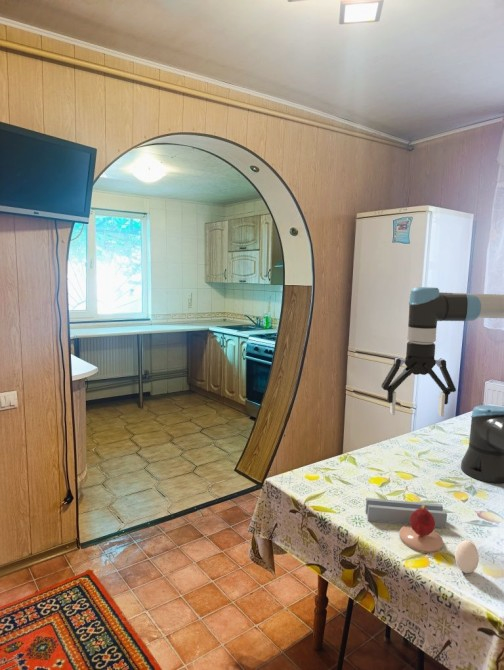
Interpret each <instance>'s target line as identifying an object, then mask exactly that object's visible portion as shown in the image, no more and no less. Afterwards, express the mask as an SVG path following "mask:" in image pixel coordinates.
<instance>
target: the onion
mask: <svg viewBox="0 0 504 670" xmlns="http://www.w3.org/2000/svg"><path fill="white" fill-rule="evenodd" d="M410 525H411V527H412V529H413V530H414V532H415V533H416V534H418V535H419V536H427V535H429V534H430V533H432V532H433V530H434V531H435V528H436V527H435V520H434V518H433V516H432V514H431V513H430V512H429V511H428V510H426V506H424V505H423V506H422V507H421V509H417V510H415V511H414V512H413V513H412V515H411V517H410Z"/></svg>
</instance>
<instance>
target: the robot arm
mask: <svg viewBox="0 0 504 670" xmlns="http://www.w3.org/2000/svg"><path fill="white" fill-rule="evenodd" d="M408 305H409V306H408V308H409V309H408V324H407V325H408V326H407V336H406V337H407V338H406V339H407V341H408V342H406V353H405V354H406V356H405V358H399V357H394V361H393V365H392V367H391V368H390V370H389V372H388V373H387V375H386V377H385V379H383V382H382V383H381V386H380V387H381V389H383V390H384V391H387V402H388V403H390V406H389V408H390V409H389V412H390V413H391V415H393V416H395V415H396V404H397V402H396V401H397V392H396V390H397V388H399V386H400V385H402V383H404V381H405V380H406V379H407V378H409V376H411V375H412V374H413V375H417V376H418V375H423V376H426V375H429V376H430V378H431V379H432V380H433V381H434V382H435V384H436V385H437V386H438V388H439V389H440V390H441V391H439V392H438V401H437V403H438V404H437V415H438V416H440V417H444V415H445V405H448V404H449V396H450V394H451V393H455V392H456V391H457V389H456V386H455V383H454V382H453V380H452V377H451V375H450V372H449V371H448V367H447V361H446V360H445V359H444V358H439V359H435V354H436V344H435V342H436V341H437V325H438V322H442V321H443V322H463V323H464V322H468V321H469V322H471V321H475V320H477V319H479V318H481V319H482V318H484V319H504V294H499V293H498V294H496V293H495V294H492V293H467V292H466V293H463V292H461V293H460V292H440V289H439V288H438V287H432V286H431V287H429V286H427V287H425V286H416V287H413V288H411V290H410V295H409V301H408ZM403 365H405V366H406V367H405V368H404V369H403V370H402V372H401V373H400V374H399V375H398V376H397V377H396V375H397V374H398V371H399V369H400V368H401V367H402V366H403ZM435 366H437V367H438V368H439V370H440V371H441V374H442V376H443V379H444V381H445V384H444V383H443V382H442V380H441V378H439V376H438V375H437V373H436V372H435V371H434V369H433V368H434V367H435ZM395 377H396V378H395ZM393 379H394V380H393ZM446 385H447V386H446ZM470 418H471V420H470V421H471V422H470V431H469V442H468V448H467V450H466V452H465V454H463V457H462V460H461V463H460V469H461V471H462V472H463V473H465V474H466V475H467V476H469V477H471V478H474V479H476V480H479V481H482V482H486V483H492V484H504V406H499V405H487V404H486V405H485V404H484V405H483V404H482V405H477V406H474V407H473V408H472V412H471V417H470Z"/></svg>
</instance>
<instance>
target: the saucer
mask: <svg viewBox="0 0 504 670" xmlns="http://www.w3.org/2000/svg"><path fill="white" fill-rule="evenodd" d="M399 539H400V541H401V542H402V543H403V544H404V545H405V546H406V547H408V548H410V549H413V550H414V551H418V552H421V553H430V554H432V553H437V552H439V551H440V550H441V549H442V548H443V544H444V543H443V537H442V536H441V535H440V534H439V533H438V532H437V531H435V529H434V530H433V532H432V533H430V534H429V535H427V536H419V535H418V534H416V533H415V532H414V530H413V529H412V527H411V525H408V524H405V525H403V526H402V527H401V528H400V529H399Z"/></svg>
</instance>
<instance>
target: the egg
mask: <svg viewBox="0 0 504 670" xmlns="http://www.w3.org/2000/svg"><path fill="white" fill-rule="evenodd" d="M454 557H455V563H456V565H457V567H458V569H459V570H460V571H462V572H463V573H466V574H470V573H473V572H474V571H476V569H477V568H478V565H479V561H480V559H479V558H480V557H479V552H478V548H477V546H476V545H475V543H473V542H472V541H471V540H469V539H466V540H462V541H460V543H459V544H458V546H457V547H456V550H455V555H454Z"/></svg>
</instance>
